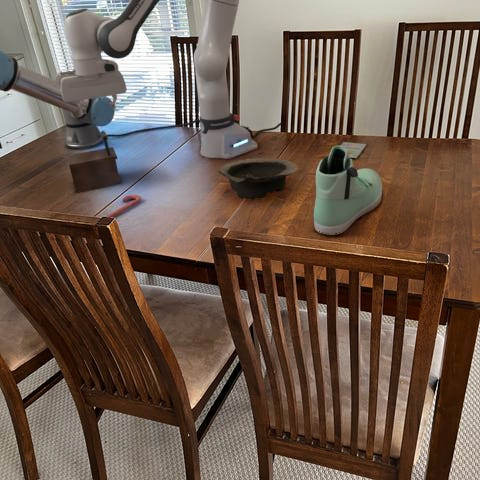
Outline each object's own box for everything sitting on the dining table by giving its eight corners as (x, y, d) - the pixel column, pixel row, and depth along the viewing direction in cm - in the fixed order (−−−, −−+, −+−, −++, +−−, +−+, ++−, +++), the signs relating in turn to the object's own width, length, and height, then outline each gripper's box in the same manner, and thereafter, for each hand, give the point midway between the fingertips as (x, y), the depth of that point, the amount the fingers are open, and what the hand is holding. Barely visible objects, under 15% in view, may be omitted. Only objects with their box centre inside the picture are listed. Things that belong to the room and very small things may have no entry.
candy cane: (96, 216, 146) (95, 211, 145) (131, 196, 156) (131, 192, 155) (109, 220, 143) (108, 216, 142) (145, 200, 153) (144, 196, 152)
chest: (116, 173, 173) (111, 150, 169) (120, 183, 166) (115, 159, 161) (74, 182, 169) (68, 158, 165) (76, 192, 162) (69, 168, 157)
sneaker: (389, 187, 148) (396, 123, 138) (356, 242, 123) (361, 168, 112) (346, 181, 154) (350, 119, 144) (306, 232, 129) (307, 161, 118)
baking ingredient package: (332, 154, 173) (343, 141, 184) (332, 155, 173) (343, 142, 184) (356, 157, 169) (366, 143, 180) (356, 158, 169) (366, 144, 181)
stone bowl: (243, 213, 140) (240, 183, 136) (209, 189, 160) (205, 162, 156) (313, 190, 149) (312, 161, 144) (272, 170, 169) (270, 144, 165)
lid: (113, 150, 169) (108, 128, 165) (117, 159, 161) (112, 136, 157) (68, 158, 165) (61, 136, 161) (69, 168, 157) (63, 145, 153)
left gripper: (-64, 161, 158) (5, 149, 164) (-78, 190, 138) (1, 175, 143) (-73, 139, 154) (-2, 128, 160) (-89, 166, 134) (-7, 151, 139)
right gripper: (54, 73, 144) (66, 119, 151) (122, 64, 149) (131, 108, 157) (54, 70, 149) (65, 114, 156) (119, 60, 155) (127, 103, 162)
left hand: (0, 150), depth 151 cm, fingers open, 13 cm apart
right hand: (98, 111), depth 156 cm, fingers open, 8 cm apart
